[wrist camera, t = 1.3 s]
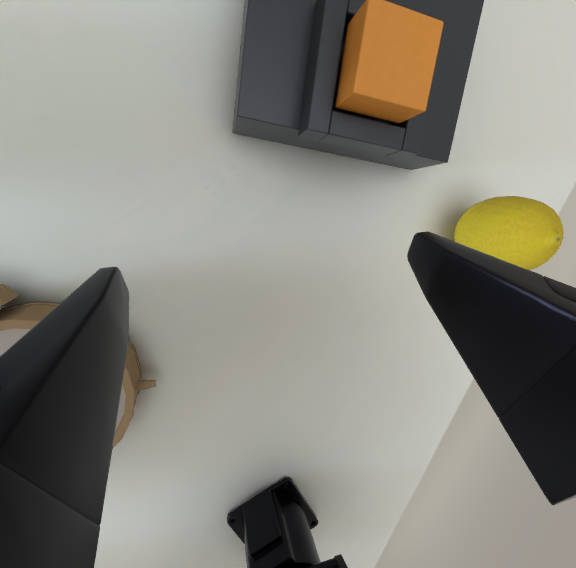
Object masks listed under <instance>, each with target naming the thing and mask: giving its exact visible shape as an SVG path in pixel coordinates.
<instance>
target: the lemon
mask: <svg viewBox="0 0 576 568" xmlns="http://www.w3.org/2000/svg"><path fill="white" fill-rule="evenodd" d="M562 239H563V226H562V223H561V220H560V218H559V216H558V215H557V214H556V212H555V211H554V210H553V209H552V208H550V207H549V206H547V205H546V204H544V203H542V202H539V201H536V200H532V199H529V198H524V197H517V196H506V197H495V198H491V199H487V200H485V201H482V202H480V203H477V204H475V205H474V206H472V207H471V208H470V209H468V210H467V211H466V212H465V213H464V214H463V215H462V216H461V218H460V219H459V221H458V223H457V225H456V228H455V233H454V241H455V242H457V243H460V244H462V245H465V246H467V247H470V248H473V249H475V250H478V251H480V252H483V253H485V254H488V255H491V256H493V257H496V258H498V259H501V260H504V261H506V262H509V263H511V264H514V265H517V266H519V267H522V268H524V269H527V270H531V269H534V268H537V267H538V266H540V265H542V264H544V263H545V262H547V261H548V260H549V259H550V258H551V257H552V256H553V255H554V254H555V253H556V252H557V250H558V249H559V247H560V245H561V242H562Z"/></svg>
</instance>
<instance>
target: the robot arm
mask: <svg viewBox="0 0 576 568" xmlns="http://www.w3.org/2000/svg"><path fill="white" fill-rule="evenodd" d="M407 257H408V261H409V263H410V266H411V268H412V270H413V272H414V274H415V276H416V279H417V281H418V283H419V285H420V287H421V289H422V291H423V293H424V295H425V297H426V299H427V301H428V303H429V304H430V306H431V308H432V309H433V311H434V312H435V314H436V316H437V317H438V319H439V321H440V322H441V324H442V326H443V327H444V329H445V331H446V332H447V334H448V336H449V337H450V339H451V341H452V342H453V344H454V346H455V347H456V349H457V350H458V352H459V354H460V355H461V357H462V359H463V360H464V362H465V364H466V365H467V367H468V369H469V370H470V372H471V374H472V375H473V377H474V379H475V380H476V382H477V383H478V385H479V387H480V388H481V390H482V392H483V393H484V395H485V397H486V398H487V400H488V402H489V403H490V405H491V407H492V408H493V410H494V412H495V413H496V415H497V417H498V418H499V420H500V422H501V423H502V425H503V427H504V428H505V430H506V432H507V433H508V435H509V437H510V438H511V440H512V442H513V443H514V445H515V447H516V448H517V450H518V452H519V453H520V455H521V456H522V458H523V460H524V461H525V463H526V465H527V467H528V468H529V470H530V471H531V473H532V475H533V476H534V478H535V480H536V481H537V483H538V485H539V486H540V488H541V490H542V491H543V493H544V495H545V496H546V498H547V499H548V500H549V502H550V503H551V504H552V505H555V504H558V503H561V502H564V501H566V500H569V499H572V498H575V497H576V288H574V287H572V286H568V285H566V284H564V283H561V282H558V281H555V280H553V279H550V278H548V277H545V276H542V275H540V274H537V273H535V272H532V271H530V270H527V269H524V268H522V267H519V266H517V265H514V264H511V263H509V262H506V261H504V260H501V259H498V258H496V257H493V256H491V255H488V254H485V253H483V252H480V251H478V250H475V249H473V248H470V247H467V246H465V245H462V244H460V243H457V242H454V241H452V240H449V239H447V238H444V237H441V236H439V235H436V234H434V233H431V232H420V233H416V234H415V235H414V237H413V240H412V243H411V245H410V248H409V251H408V255H407ZM128 333H129V292H128V289H127V286H126V284H125V281H124V279H123V276H122V274H121V272H120V270H119V268H117V267H108V268H101V269H99V270H98V271H97V272H96V273H95V274H93V275H92V276H91V277H90V278H89V279H88V280H87V281H85V282H84V283H83V284H82V285H81V286H80V287H79V288H77V289H76V290H75V291H74V292H73V293H72V294H71V295H69V296H68V297H67V298H66V299H65V300H64V301H63V302H61V303H60V304H59V305H58V306H57V307H56V308H55V309H54V310H52V311H51V312H50V313H49V314H48V315H47V316H46V317H44V318H43V319H42V320H41V321H40V322H39V323H38V324H36V325H35V326H34V327H33V328H32V329H31V330H30V331H28V332H27V333H26V334H25V335H24V336H23V337H22V338H21V339H19V340H18V341H17V342H16V343H15V344H14V345H13V346H11V347H10V348H9V349H8V350H7V351H6V352H5V353H3V354H2V355H1V356H0V568H94V564H95V557H96V551H97V544H98V538H99V531H100V526H99V525H100V523H101V517H102V511H103V504H104V498H105V492H106V485H107V479H108V472H109V466H110V459H111V453H112V447H113V440H114V434H115V427H116V421H117V414H118V408H119V402H120V395H121V389H122V382H123V376H124V370H125V363H126V357H127V350H128ZM287 483H288V484H287ZM232 518H233V519H232ZM227 523H228V524H229V526H230V527H231V528H232V529H233V531H234V532H235V533H236V534H237V535H238V537H239V538H240V539H241V540H242V542H243V543H244V544H245V551H246V561H247V568H348V567H347V565H346V563H345V561H344V559H343V557H342V555H341V554H340V555H337V556H334V558H333V559H330V560H327V561H324V562H320V559H319V556H318V553H317V550H316V546H315V543H314V540H313V537H312V534H311V529H312V528H314V527H315V526H317V524H318V520H317V517H316V515H315V514H314V512H313V511H312V509H311V508H310V506H309V505H308V503H307V502H306V500H305V499H304V497H303V496H302V494H301V493H300V491H299V490H298V488H297V487H296V485H295V484H294V482H293V481H292V479H291V478H289V477H287V478H284V479H282V480H281V481H279V482H278V483H276V484H275V485H273V486H271V487H270V488H268V489H267V490H265V491H264V492H262V493H260V494H259V495H257V496H256V497H254V498H253V499H251V500H249V501H248V502H246V503H245V504H243V505H242V506H240V507H238V508H237V509H235V510H234V511H232V512H231V513H229V514H228V516H227Z"/></svg>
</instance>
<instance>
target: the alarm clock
mask: <svg viewBox="0 0 576 568" xmlns="http://www.w3.org/2000/svg"><path fill="white" fill-rule="evenodd" d="M18 296H19V295H18V294H17V293H16V292H15V291H13V290H12V289H11V288H9V287H7V286H5V285H3V284H0V306H2V305H4V304H6V303H8V302H9V301H11V300H13V299H15V298H16V297H18ZM58 305H59V304H58V303H43V302H34V303H28V304H23V305H18V306H12V307H7V308H3V309H1V310H0V356H1V355H2V354H3V353H5V352H6V351H7V350H8V349H9V348H10V347H11V346H13V345H14V344H15V343H16V342H17V341H18V340H19V339H21V338H22V337H23V336H24V335H25V334H26V333H27V332H28V331H30V330H31V329H32V328H33V327H34V326H35V325H36V324H38V323H39V322H40V321H41V320H42V319H43V318H44V317H46V316H47V315H48V314H49V313H50V312H51V311H52V310H54V309H55V308H56V307H57V306H58ZM140 376H141V367H140V364H139V361H138V358H137V354H136V351H135V348H134V347H133V346H132V344H131V343H130V342H129V340H128V350H127V357H126V363H125V370H124V376H123V382H122V389H121V395H120V402H119V408H118V414H117V421H116V427H115V434H114V440H113V447H114V446H115V445H116V444H117V443H118V442H119V441H120V440H121V439H122V438H123V436H124V433H125V431H126V429H127V427H128V425H129V423H130V421H131V419H132V417H133V413H134V406H135V402H136V398H137V395H138V393H139V390H140V389H147V388H150V387H154V386H156V380H140ZM113 447H112V448H113Z"/></svg>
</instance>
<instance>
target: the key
mask: <svg viewBox="0 0 576 568" xmlns="http://www.w3.org/2000/svg"><path fill="white" fill-rule="evenodd" d="M443 24H444V22H443V21H441V20H438V19H435V18H433V17H430V16H427V15H424V14H421V13H419V12H416V11H413V10H410V9H408V8H405V7H402V6H399V5H396V4H394V3H391V2H388V1H385V0H366V1H365V2H364V3H363V5H362V6H361V7H360V9H359V10H358V11H357V13H356V14H355V16H354V17H353V18H352V20H351V21H350V22H349V24H348V27H347V34H346V41H345V47H344V54H343V60H342V67H341V73H340V80H339V86H338V93H337V99H336V108H339V109H343V110H347V111H351V112H355V113H359V114H363V115H367V116H371V117H375V118H379V119H383V120H387V121H391V122H395V123H401V122H404V121H406V120H408V119H410V118H412V117H414V116H416V115H419V114H421V113H423V112H425V111H426V107H427V102H428V97H429V92H430V88H431V83H432V78H433V73H434V68H435V63H436V58H437V53H438V49H439V44H440V39H441V34H442V29H443Z"/></svg>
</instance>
